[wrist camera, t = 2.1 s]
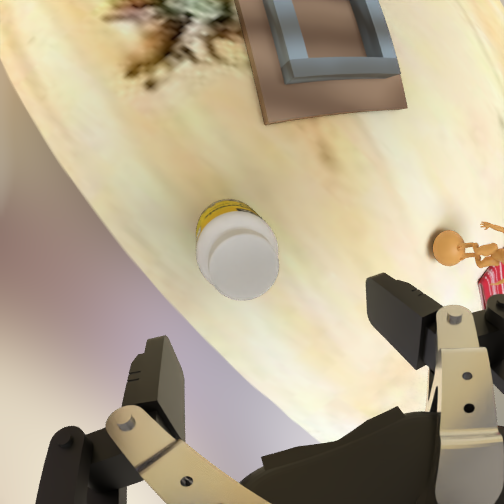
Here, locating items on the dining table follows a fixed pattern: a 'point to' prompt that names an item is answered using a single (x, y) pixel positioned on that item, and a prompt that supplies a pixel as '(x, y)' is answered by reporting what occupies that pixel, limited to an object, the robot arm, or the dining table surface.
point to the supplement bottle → (236, 250)
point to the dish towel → (490, 276)
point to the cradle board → (320, 57)
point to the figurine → (453, 247)
